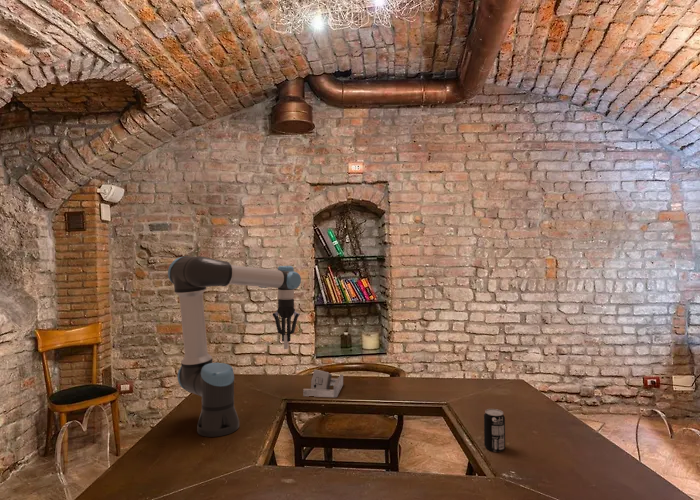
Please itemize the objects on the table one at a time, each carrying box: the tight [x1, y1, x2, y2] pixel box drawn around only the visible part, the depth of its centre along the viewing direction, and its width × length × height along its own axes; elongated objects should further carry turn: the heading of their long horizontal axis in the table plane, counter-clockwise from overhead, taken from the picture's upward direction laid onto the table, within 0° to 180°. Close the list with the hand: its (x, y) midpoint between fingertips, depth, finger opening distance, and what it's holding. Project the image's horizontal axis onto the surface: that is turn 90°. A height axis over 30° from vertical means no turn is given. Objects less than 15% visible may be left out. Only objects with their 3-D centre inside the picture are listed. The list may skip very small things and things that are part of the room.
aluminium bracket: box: [302, 374, 344, 398], centre depth 206 cm, size 18×16×5 cm
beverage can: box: [483, 408, 506, 453], centre depth 145 cm, size 7×7×12 cm
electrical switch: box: [310, 369, 333, 389], centre depth 206 cm, size 9×5×9 cm, turn 51°
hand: (286, 348), depth 206 cm, fingers closed
